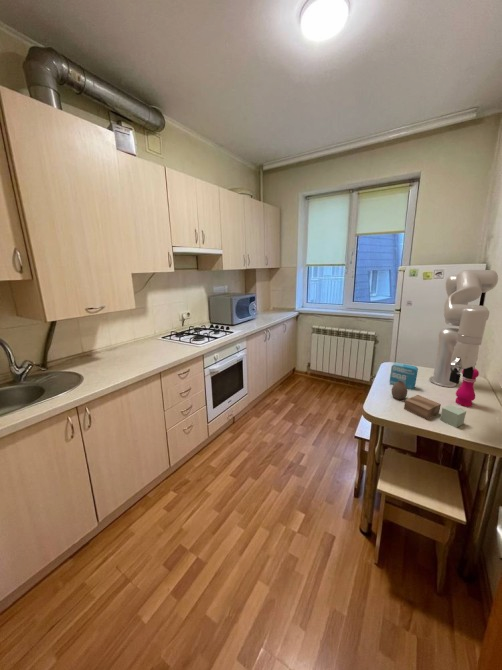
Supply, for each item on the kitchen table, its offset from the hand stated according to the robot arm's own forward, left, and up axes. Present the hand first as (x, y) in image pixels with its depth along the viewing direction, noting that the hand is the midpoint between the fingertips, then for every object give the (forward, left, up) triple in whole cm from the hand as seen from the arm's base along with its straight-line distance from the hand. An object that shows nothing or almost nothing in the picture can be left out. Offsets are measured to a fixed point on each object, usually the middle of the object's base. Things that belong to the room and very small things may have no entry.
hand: (460, 380), depth 106 cm
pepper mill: (-22, -6, -20) cm, 30 cm away
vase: (0, -24, -20) cm, 31 cm away
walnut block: (+3, -11, -20) cm, 23 cm away
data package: (-14, -32, -20) cm, 40 cm away
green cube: (0, 0, -20) cm, 20 cm away
